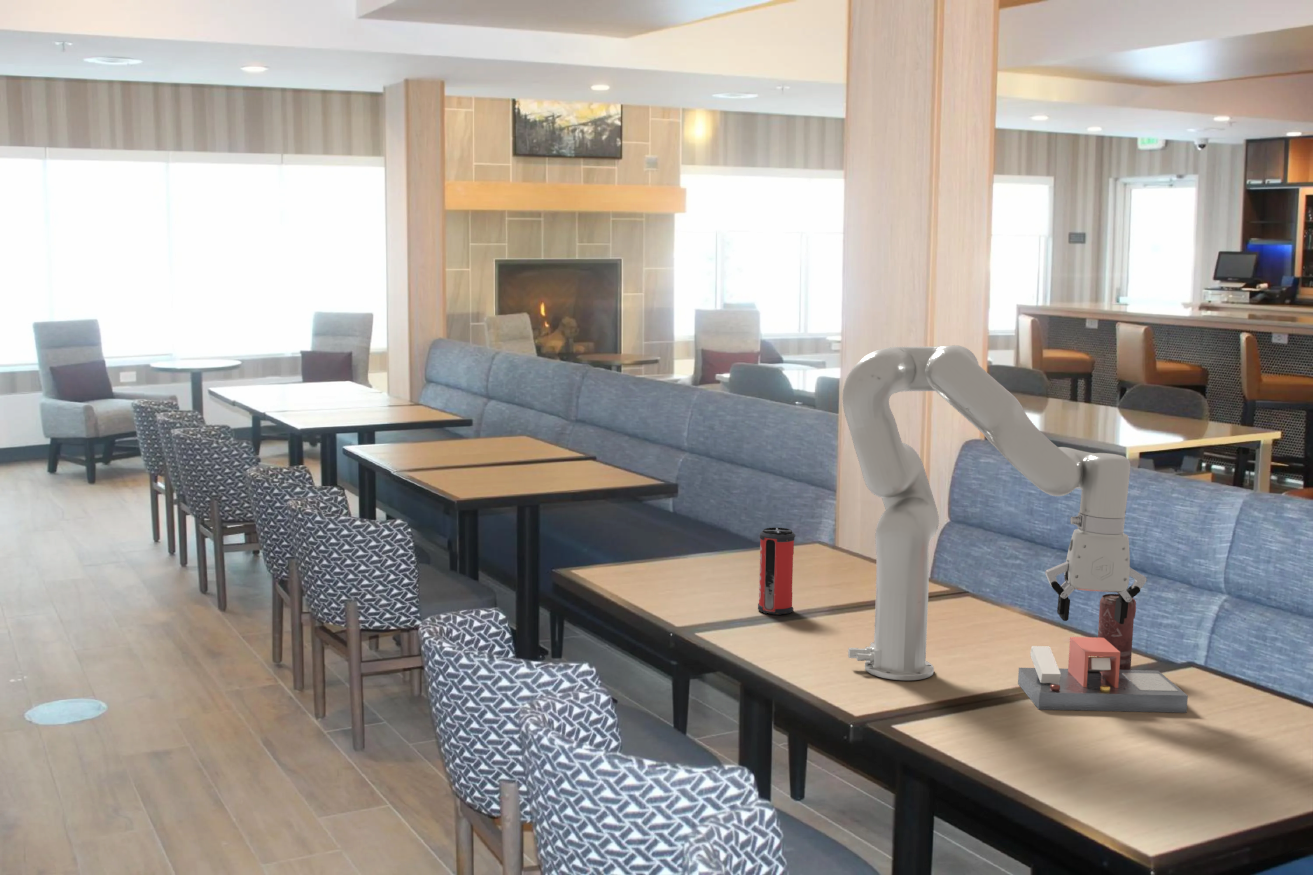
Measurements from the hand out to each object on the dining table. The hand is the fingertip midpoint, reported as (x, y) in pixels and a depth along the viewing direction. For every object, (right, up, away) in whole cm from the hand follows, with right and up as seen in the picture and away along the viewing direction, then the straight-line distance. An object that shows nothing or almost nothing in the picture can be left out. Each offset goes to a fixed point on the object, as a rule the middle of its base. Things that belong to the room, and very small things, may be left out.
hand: (1091, 620), depth 228 cm
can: (+10, -12, +17) cm, 23 cm away
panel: (+2, -14, 0) cm, 14 cm away
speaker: (-50, -6, +56) cm, 75 cm away
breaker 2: (+1, -8, +1) cm, 8 cm away
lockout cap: (+1, -11, +1) cm, 11 cm away
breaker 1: (-8, -8, +1) cm, 11 cm away
